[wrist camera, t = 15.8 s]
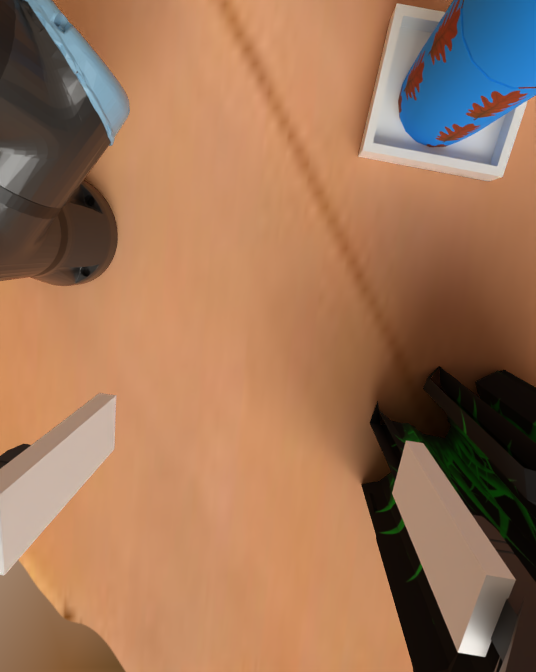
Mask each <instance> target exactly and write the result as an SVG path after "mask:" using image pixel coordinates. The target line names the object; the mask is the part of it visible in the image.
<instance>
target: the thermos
mask: <svg viewBox="0 0 536 672" xmlns="http://www.w3.org/2000/svg"><path fill="white" fill-rule="evenodd" d="M535 95H536V0H453V2H452V3H451V5H450V6H449V8H448V9H447V11H446V12H445V14H444V16H443V17H442V19H441V20H440V22H439V23H438V25H437V26H436V28H435V29H434V31H433V33H432V34H431V36H430V37H429V39H428V40H427V42H426V43H425V45H424V47H423V48H422V50H421V51H420V53H419V55H418V56H417V58H416V60H415V61H414V63H413V65H412V67H411V68H410V70H409V72H408V74H407V76H406V78H405V80H404V82H403V84H402V87H401V91H400V95H399V99H398V107H399V118H400V120H401V122H402V124H403V127H404V129H405V131H406V132H407V133H408V134H409V135H410V136H411V137H412V138H413V139H414V140H415V141H416V142H418V143H420V144H423V145H426V146H428V147H446V146H449V145H451V144H454V143H456V142H459V141H461V140H463V139H465V138H467V137H469V136H471V135H473V134H475V133H477V132H478V131H480V130H482V129H483V128H485V127H486V126H488V125H489V124H491V123H493V122H494V121H496V120H497V119H499V118H501V117H502V116H504V115H505V114H507V113H508V112H510V111H512V110H513V109H515V108H516V107H518V106H519V105H521V104H523V103H524V102H526V101H527V100H529V99H531V98H532V97H534V96H535Z"/></svg>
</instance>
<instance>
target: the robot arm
mask: <svg viewBox="0 0 536 672" xmlns="http://www.w3.org/2000/svg"><path fill="white" fill-rule="evenodd" d="M129 111H130V110H129V100H128V97H127V94H126V92H125V91H124V89H123V87H122V86H121V84H120V83H119V82H118V80H117V79H116V78H115V76H114V75H113V74H112V72H111V71H110V70H109V68H108V67H107V66H106V64H105V63H104V62H103V61H102V59H101V58H100V57H99V56H98V54H97V53H96V52H95V51H94V50H93V48H92V47H91V46H90V45H89V43H88V42H87V41H86V40H85V39H84V37H83V36H82V35H81V34H80V33H79V32H78V30H77V29H76V28H75V27H74V26H73V25H72V24H71V23H69V22H68V20H67V18H66V17H65V16H64V14H63V13H62V12H61V11H60V10H59V9H58V7H57V6H56V5H55V3H54V2H53V1H52V0H0V281H3V280H11V279H19V278H26V277H31V278H34V279H36V280H39V281H42V282H45V283H48V284H52V285H59V286H71V285H78V284H83V283H87V282H89V281H92V280H94V279H95V278H97V277H98V276H100V275H101V274H102V273H103V272H104V271H105V270H106V269H107V268H108V266H109V265H110V263H111V261H112V259H113V257H114V254H115V251H116V247H117V227H116V222H115V218H114V215H113V213H112V211H111V208H110V207H109V205H108V203H107V201H106V200H105V199H104V197H103V196H102V195H101V194H100V193H99V192H98V191H97V190H96V189H95V188H94V187H93V186H92V185H90V184H89V183H87V182H86V181H84V178H85V177H86V176H87V174H88V173H89V172H90V170H91V169H92V168H93V166H94V165H95V164H96V162H97V161H98V159H99V158H100V157H101V155H102V154H103V153H104V151H105V150H106V149H107V147H108V146H112V145H113V143H114V137H115V136H116V134H117V133H118V131H119V130H120V128H121V127H122V125H123V124H124V122H125V121H126V119H127V117H128V115H129ZM115 417H116V395H110V394H104V393H99V394H97V395H96V396H95V397H94V398H92V399H91V400H90V401H88V402H87V403H86V404H84V405H83V406H82V407H80V408H79V409H78V410H77V411H75V412H74V413H73V414H71V415H70V416H69V417H67V418H66V419H65V420H63V421H62V422H61V423H60V424H58V425H57V426H56V427H54V428H53V429H52V430H50V431H49V432H48V433H47V434H45V435H44V436H43V437H41V438H40V439H39V440H37V441H36V442H35V443H33V444H32V445H28V444H22V445H20V446H17V447H15V448H13V449H10V450H8V451H6V452H5V453H4V454H2V455H1V456H0V575H5V574H6V573H7V572H8V571H9V569H10V568H11V567H12V566H13V565H14V564H15V563H16V562H17V560H18V559H19V558H20V557H21V556H22V555H23V553H24V552H25V551H26V550H27V549H28V548H29V547H30V545H31V544H32V543H33V542H34V541H35V540H36V539H37V537H38V536H39V535H40V534H41V533H42V532H43V531H44V529H45V528H46V527H47V526H48V525H49V524H50V522H51V521H52V520H53V519H54V518H55V517H56V516H57V514H58V513H59V512H60V511H61V510H62V509H63V508H64V506H65V505H66V504H67V503H68V502H69V501H70V499H71V498H72V497H73V496H74V495H75V494H76V493H77V491H78V490H79V489H80V488H81V487H82V486H83V485H84V483H85V482H86V481H87V480H88V479H89V478H90V476H91V475H92V474H93V473H94V472H95V471H96V470H97V468H98V467H99V466H100V465H101V464H102V463H103V462H104V460H105V459H106V458H107V457H108V456H109V455H110V454H111V452H112V451H113V450H114V447H115ZM392 494H393V497H394V499H395V502H396V504H397V507H398V509H399V511H400V514H401V516H402V519H403V521H404V523H405V526H406V528H407V531H408V533H409V536H410V538H411V540H412V543H413V545H414V548H415V550H416V553H417V555H418V557H419V560H420V562H421V565H422V567H423V569H424V572H425V574H426V577H427V579H428V582H429V584H430V586H431V589H432V591H433V594H434V596H435V599H436V601H437V603H438V606H439V608H440V611H441V613H442V615H443V618H444V620H445V623H446V625H447V628H448V630H449V632H450V635H451V637H452V640H453V642H454V645H455V647H456V649H457V652H458V653H464V654H470V655H476V656H482V657H485V656H486V654H487V651H488V649H489V646H490V644H491V641H492V642H493V644H494V646H495V648H496V650H497V652H498V654H499V656H500V658H499V660H498V663H497V665H496V668H495V670H494V672H536V582H535V581H534V579H533V578H532V577H531V575H530V574H529V573H528V571H527V570H526V568H525V567H524V566H523V564H522V563H521V562H520V560H519V559H518V557H517V556H516V555H514V554H513V551H512V549H511V548H510V547H509V545H508V544H506V541H505V540H504V538H503V537H502V536H501V534H500V533H499V532H498V530H497V529H496V528H495V527H494V526H493V525H492V524H491V523H489V522H488V521H487V520H486V519H485V518H484V517H482V516H478V515H472V514H471V513H470V511H469V510H468V508H467V507H466V505H465V504H464V503H463V501H462V500H461V498H460V497H459V495H458V494H457V492H456V491H455V489H454V488H453V486H452V485H451V483H450V482H449V480H448V479H447V477H446V476H445V474H444V473H443V472H442V470H441V469H440V467H439V466H438V464H437V463H436V461H435V460H434V458H433V457H432V455H431V454H430V452H429V451H428V449H427V448H426V446H425V445H424V443H419V442H412V441H406V443H405V446H404V450H403V454H402V458H401V461H400V465H399V469H398V473H397V476H396V480H395V484H394V488H393V492H392Z"/></svg>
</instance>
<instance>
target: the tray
mask: <svg viewBox="0 0 536 672" xmlns="http://www.w3.org/2000/svg"><path fill="white" fill-rule="evenodd" d="M444 14H445V12H442V11H437V10H431V9H426V8H420V7H415V6H409V5H404V4H398V3H397V4H396V7H395V9H394V11H393V14H392V16H391V19H390V21H389V26H388V30H387V34H386V39H385V43H384V47H383V52H382V56H381V60H380V65H379V69H378V73H377V77H376V82H375V86H374V90H373V95H372V99H371V103H370V108H369V112H368V116H367V121H366V125H365V129H364V134H363V138H362V142H361V146H360V151H359V155H358V157H363V158H368V159H373V160H378V161H384V162H389V163H394V164H399V165H405V166H410V167H415V168H420V169H426V170H431V171H436V172H441V173H447V174H452V175H457V176H462V177H468V178H473V179H478V180H483V181H492V180H495V179H498V178H501V177H503V174H504V171H505V168H506V165H507V162H508V159H509V156H510V153H511V150H512V147H513V144H514V141H515V138H516V135H517V132H518V129H519V126H520V123H521V120H522V117H523V114H524V111H525V108H526V105H527V101H528V100H527V101H526V102H524V103H523V104H521V105H519V106H518V107H516V108H515V109H513V110H512V111H510V112H508V113H507V114H505V115H504V116H502V117H501V118H499V119H497V120H496V121H494V122H493V123H491V124H489V125H488V126H486V127H485V128H483V129H482V130H480V131H478V132H477V133H475V134H473V135H471V136H469V137H467V138H465V139H463V140H461V141H459V142H456V143H454V144H451V145H449V146H446V147H428V146H426V145H423V144H420V143H418V142H416V141H415V140H414V139H413V138H412V137H411V136H410V135H409V134H408V133H407V132H406V131H405V129H404V127H403V124H402V122H401V120H400V118H399V107H398V99H399V95H400V91H401V87H402V84H403V82H404V80H405V78H406V76H407V74H408V72H409V70H410V68H411V67H412V65H413V63H414V61H415V60H416V58H417V56H418V55H419V53H420V51H421V50H422V48H423V47H424V45H425V43H426V42H427V40H428V39H429V37H430V36H431V34H432V33H433V31H434V29H435V28H436V26H437V25H438V23H439V22H440V20H441V19H442V17H443V16H444Z"/></svg>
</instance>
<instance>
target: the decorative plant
mask: <svg viewBox="0 0 536 672" xmlns="http://www.w3.org/2000/svg"><path fill="white" fill-rule="evenodd" d="M438 368H439V370H440V385H441V387H442V388H443V390H444V391H445V392H446V394H447V395H448V396H447V395H446V394H445V393H444V392H443V391H442V390H441V389H440V388H439V387H438V386H437V385H436V384H435V383H434V382H433V381H431V380H430V379H431V377H432V376H433V374H434V373H435V372H436V370H437V369H438ZM438 368H437V369H436V370H435V371H434V372H433V373H432V374H430V375H429V376H428V378H427V380H426V383H425V385H424V388H423V389H424V390H425V391H426V392H427V393H428V394H429V395H430V396H431V397H432V399H433V400H434V401H435V402H436V403H437V404H438V405H439V406H440V407H441V408H442V409H443V410H444V411H445V412H446V413H447V418H448V422H449V423H450V425H451V427H450V429H449V431H448V434H447V436H446V438H441V437H436V436H431V435H426V434H423V433H421V432H420V431H419V430H417V429H416V428H415V427H414V426H412V425H410V424H409V423H398V422H394V421H391V420H390V419H389V418H388V417H386V416H385V415H384V414H383V413H382V412H381V411H379V406H378V401H377V404H376V407H375V409H374V412H373V415H372V418H371V421H370V425H371V427H372V429H373V431H374V434H375V436H376V438H377V440H378V443H379V445H380V447H381V449H382V452H383V454H384V456H385V458H386V461H387V463H388V465H389V467H390V470H391V473H390V474H388V475H387V476H386V477H384V478H383V479H382V480H380V481H377V482H372V483H367V484H362V489H363V492H364V495H365V499H366V502H367V506H368V509H369V513H370V516H371V519H372V523H373V526H374V530H375V533H376V539H377V544H378V547H379V551H380V554H381V558H382V561H383V565H384V568H385V571H386V575H387V578H388V582H389V585H390V589H391V592H392V596H393V599H394V603H395V606H396V610H397V613H398V617H399V620H400V623H401V627H402V630H403V634H404V637H405V641H406V644H407V648H408V651H409V655H410V658H411V662H412V666H413V672H494V670H495V668H496V665H497V663H498V660H499V658H500V656H499V654H498V652H497V650H496V648H495V646H494V644H493V642H492V641H491V644H490V646H489V649H488V651H487V654H486V656H485V657H482V656H476V655H470V654H464V653H458V652H457V649H456V647H455V645H454V642H453V640H452V637H451V635H450V632H449V630H448V628H447V625H446V623H445V620H444V618H443V615H442V613H441V611H440V608H439V606H438V603H437V601H436V599H435V596H434V594H433V591H432V589H431V586H430V584H429V582H428V579H427V577H426V574H425V572H424V569H423V567H422V565H421V562H420V560H419V557H418V555H417V553H416V550H415V548H414V545H413V543H412V540H411V538H410V536H409V533H408V531H407V528H406V526H405V523H404V521H403V519H402V516H401V514H400V511H399V509H398V507H397V504H396V502H395V499H394V497H393V494H392V492H393V488H394V484H395V480H396V476H397V473H398V469H399V465H400V461H401V458H402V454H403V450H404V446H405V443H406V441H412V442H419V443H424V445H425V446H426V448H427V449H428V451H429V452H430V454H431V455H432V457H433V458H434V460H435V461H436V463H437V464H438V466H439V467H440V469H441V470H442V472H443V473H444V474H445V476H446V477H447V479H448V480H449V482H450V483H451V485H452V486H453V488H454V489H455V491H456V492H457V494H458V495H459V497H460V498H461V500H462V501H463V503H464V504H465V505H466V507H467V508H468V510H469V511H470V513H471V514H472V515H478V516H482V517H484V518H485V519H486V520H487V521H488V522H489V523H491V524H492V525H493V526H494V527H495V528H496V529H497V530H498V532H499V533H500V534H501V536H502V537H503V538H504V540H505V541H506V544H508V545H509V547H510V548H511V549H512V551H513V554H514V555H516V556H517V557H518V559H519V560H520V562H521V563H522V564H523V566H524V567H525V568H526V570H527V571H528V573H529V574H530V575H531V577H532V578H533V579H534V581H535V582H536V388H535V387H534V386H532V385H530V384H528V383H527V382H525V381H523V380H521V379H520V378H518V377H516V376H514V375H513V374H511V373H509V372H507V371H506V370H503V371H496V372H494V373H492V374H490V375H488V376H486V377H484V378H482V379H480V380H478V381H476V382H475V383H476V386H477V390H478V393H479V396H480V398H479V397H477V396H476V395H475V394H474V393H472V392H471V391H470V390H469V389H467V388H466V387H465V386H464V385H462V384H461V383H460V382H459V381H457V380H456V379H455V378H454V377H452V376H451V375H450V374H449V373H447V372H446V371H445V370H444V369H442V368H441V367H440V366H439V367H438ZM500 372H501V373H500ZM379 413H380V415H381V416H382V418H383V420H384V422H385V425H381V423H380V415H379Z"/></svg>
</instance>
